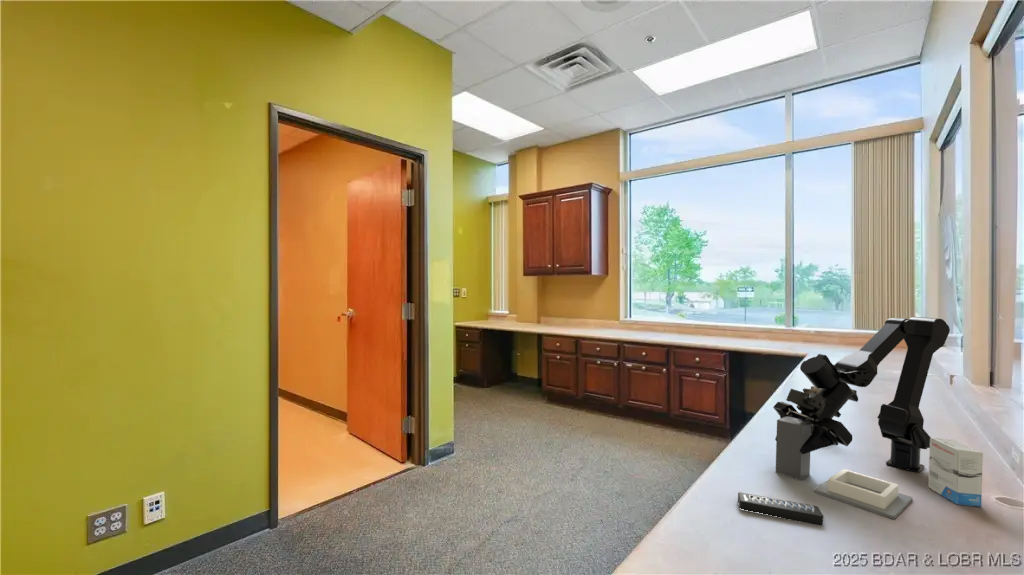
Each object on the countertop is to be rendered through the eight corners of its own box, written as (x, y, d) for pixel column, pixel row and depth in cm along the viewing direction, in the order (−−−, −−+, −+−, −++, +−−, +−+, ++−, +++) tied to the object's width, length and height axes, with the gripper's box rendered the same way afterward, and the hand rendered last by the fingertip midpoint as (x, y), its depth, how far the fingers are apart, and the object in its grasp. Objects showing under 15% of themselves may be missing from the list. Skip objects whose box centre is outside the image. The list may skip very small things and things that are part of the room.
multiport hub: (823, 528, 86) (824, 516, 86) (739, 512, 91) (739, 500, 91) (817, 517, 90) (817, 505, 90) (737, 502, 95) (737, 491, 95)
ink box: (982, 507, 94) (984, 452, 94) (955, 504, 95) (957, 450, 95) (951, 489, 103) (953, 438, 103) (927, 486, 104) (928, 436, 104)
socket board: (836, 476, 108) (836, 463, 108) (912, 499, 97) (912, 485, 97) (813, 491, 100) (814, 478, 100) (894, 519, 89) (894, 503, 89)
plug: (785, 466, 113) (786, 416, 113) (809, 474, 109) (811, 421, 109) (775, 471, 110) (777, 419, 110) (800, 480, 106) (801, 425, 106)
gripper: (780, 371, 119) (742, 413, 117) (843, 387, 101) (799, 437, 99) (805, 399, 121) (767, 441, 119) (871, 421, 102) (828, 471, 100)
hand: (788, 446), depth 109 cm, fingers closed on plug, 7 cm apart
